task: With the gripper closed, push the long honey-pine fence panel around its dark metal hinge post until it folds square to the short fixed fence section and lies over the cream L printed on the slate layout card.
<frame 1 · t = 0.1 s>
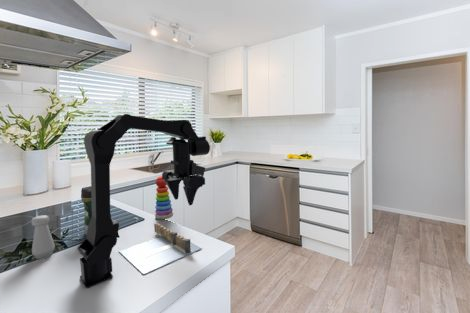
hand: (183, 202, 85), 15 cm above the counter, tool pointing down, fingers open, 9 cm apart
coffee jar: (98, 232, 96), on the counter
fixed fence section: (175, 244, 84), resting on layout card
folding fence panel: (163, 231, 89), point 2 cm above the counter, hinge at 0.0°
layout card: (160, 250, 81), on the counter
stacking toy: (164, 217, 111), on the counter
salt shaker: (44, 256, 78), on the counter
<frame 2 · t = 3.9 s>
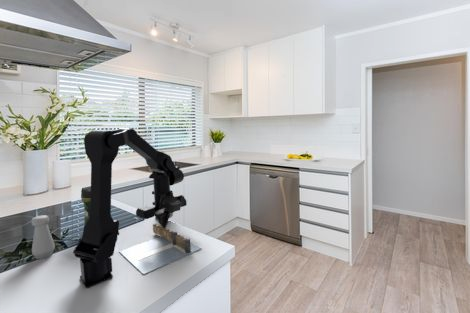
hand: (163, 228, 92), 2 cm above the counter, tool pointing down, fingers closed
folding fence panel: (163, 232, 89), point 2 cm above the counter, hinge at 2.6°, touching gripper
everything else where it was.
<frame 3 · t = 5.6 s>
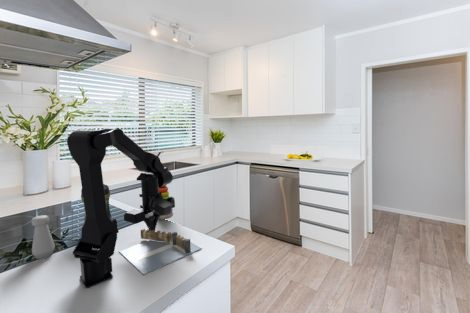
hand: (152, 232, 89), 3 cm above the counter, tool pointing down, fingers closed
folding fence panel: (156, 235, 86), point 2 cm above the counter, hinge at 27.9°, touching gripper
everything else where it was.
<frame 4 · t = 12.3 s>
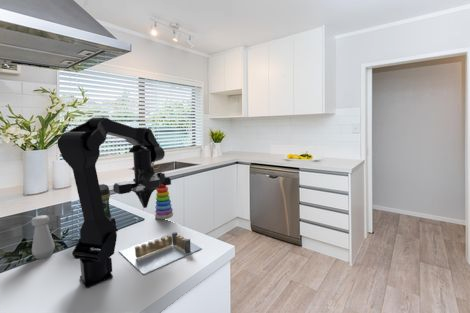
hand: (145, 207, 87), 12 cm above the counter, tool pointing down, fingers closed
folding fence panel: (154, 245, 79), point 2 cm above the counter, hinge at 89.2°
everything else where it was.
at the end: folding fence panel at +89° (first picture: +0°) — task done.
